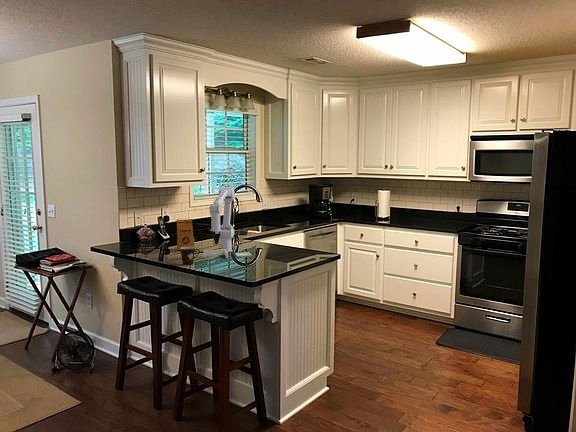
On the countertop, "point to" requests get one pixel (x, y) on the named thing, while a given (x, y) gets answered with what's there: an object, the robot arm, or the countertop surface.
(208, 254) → the acrylic walls
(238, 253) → the tray
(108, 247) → the countertop surface
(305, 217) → the countertop surface
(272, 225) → the countertop surface
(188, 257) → the coffee mug
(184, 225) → the coffee package
